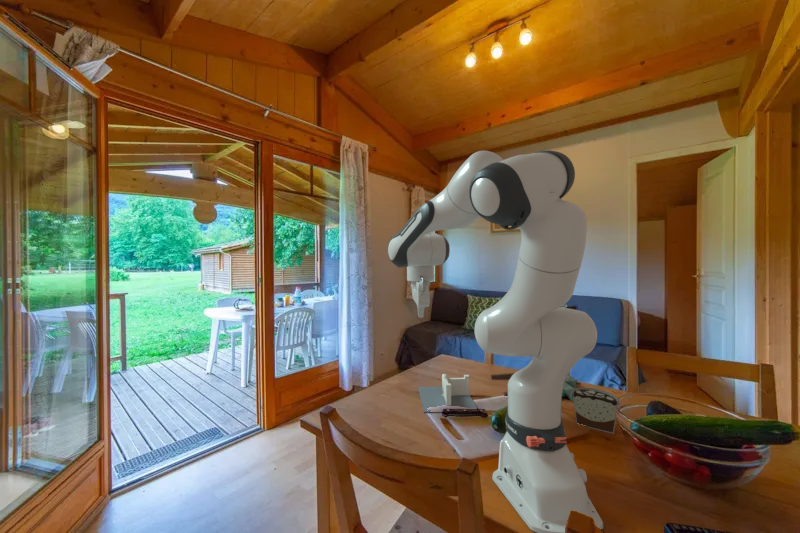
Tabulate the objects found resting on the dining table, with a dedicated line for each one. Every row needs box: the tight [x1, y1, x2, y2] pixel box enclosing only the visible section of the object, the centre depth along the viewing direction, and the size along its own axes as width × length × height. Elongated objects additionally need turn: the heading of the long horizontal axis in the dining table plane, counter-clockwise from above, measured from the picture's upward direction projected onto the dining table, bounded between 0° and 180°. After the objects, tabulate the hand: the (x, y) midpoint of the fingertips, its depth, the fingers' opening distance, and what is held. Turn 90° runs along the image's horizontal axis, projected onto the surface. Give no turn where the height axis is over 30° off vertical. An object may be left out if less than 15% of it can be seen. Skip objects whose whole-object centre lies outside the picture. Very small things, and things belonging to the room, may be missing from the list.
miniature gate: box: [490, 372, 581, 403], centre depth 122 cm, size 27×6×30 cm
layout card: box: [417, 385, 478, 414], centre depth 113 cm, size 20×18×1 cm
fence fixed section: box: [447, 374, 470, 396], centre depth 115 cm, size 8×2×7 cm, turn 92°
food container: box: [571, 386, 621, 435], centre depth 94 cm, size 12×6×10 cm, turn 56°
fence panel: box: [441, 373, 451, 406], centre depth 110 cm, size 10×2×7 cm, turn 0°
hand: (420, 317), depth 104 cm, fingers closed
